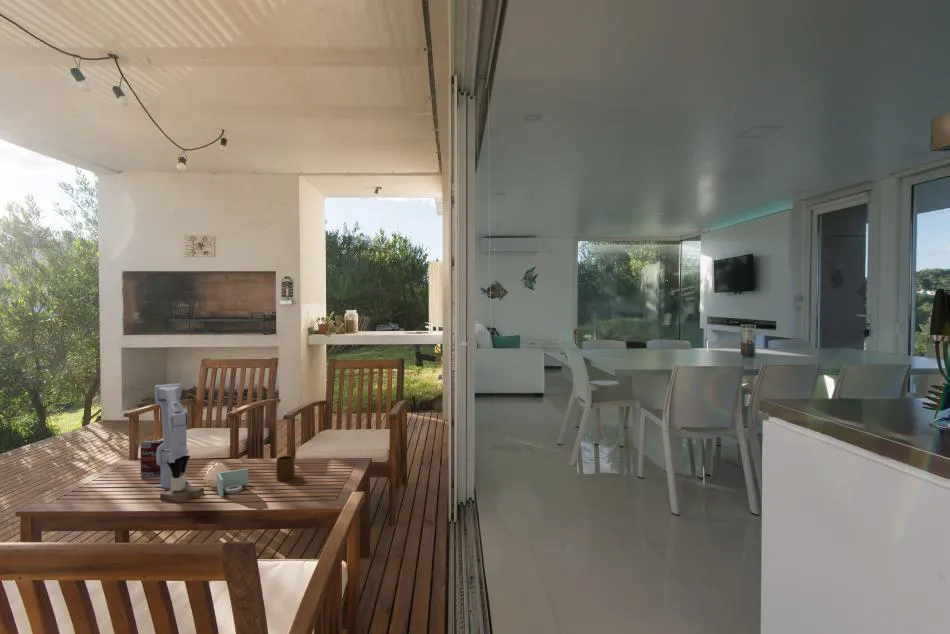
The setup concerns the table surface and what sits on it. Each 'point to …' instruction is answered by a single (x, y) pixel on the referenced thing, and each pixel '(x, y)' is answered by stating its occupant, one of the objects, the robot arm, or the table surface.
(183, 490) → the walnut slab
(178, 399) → the robot arm
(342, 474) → the table surface
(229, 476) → the l-shaped corner panel
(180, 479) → the beige rectangular block
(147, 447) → the supplement box
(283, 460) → the mug
